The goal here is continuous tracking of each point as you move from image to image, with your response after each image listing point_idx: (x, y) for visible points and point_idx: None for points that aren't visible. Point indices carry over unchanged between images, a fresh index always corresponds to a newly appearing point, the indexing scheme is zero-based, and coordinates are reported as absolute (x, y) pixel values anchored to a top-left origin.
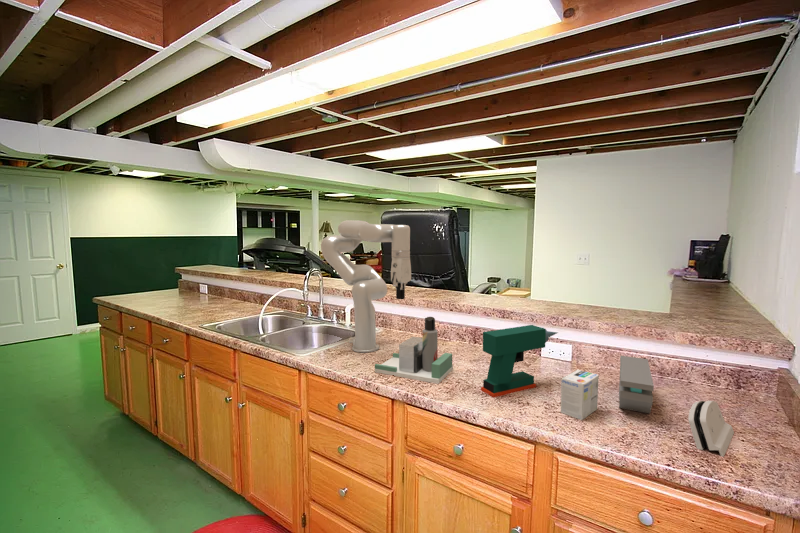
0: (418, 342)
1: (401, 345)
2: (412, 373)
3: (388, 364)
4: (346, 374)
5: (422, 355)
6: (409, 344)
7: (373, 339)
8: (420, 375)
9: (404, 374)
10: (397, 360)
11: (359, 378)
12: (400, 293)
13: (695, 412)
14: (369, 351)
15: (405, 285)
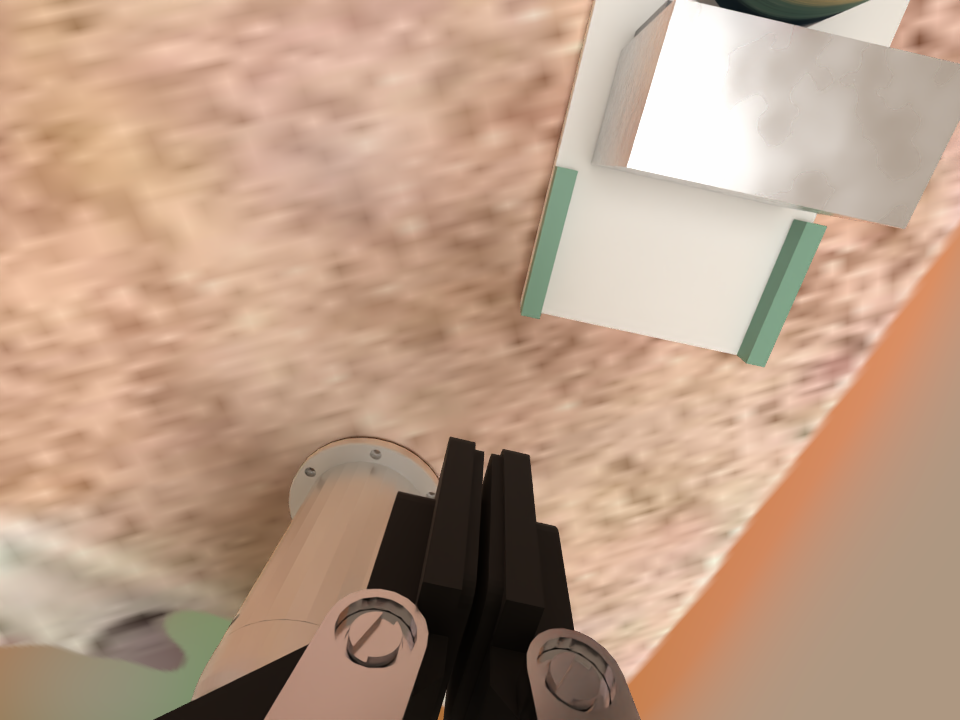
0: (842, 50)
1: (911, 203)
2: None
3: (678, 301)
4: (780, 472)
5: (808, 26)
6: (909, 129)
7: (369, 496)
8: (874, 38)
9: None
10: (597, 266)
11: (835, 398)
12: (564, 582)
13: None
14: (429, 469)
15: (289, 690)
